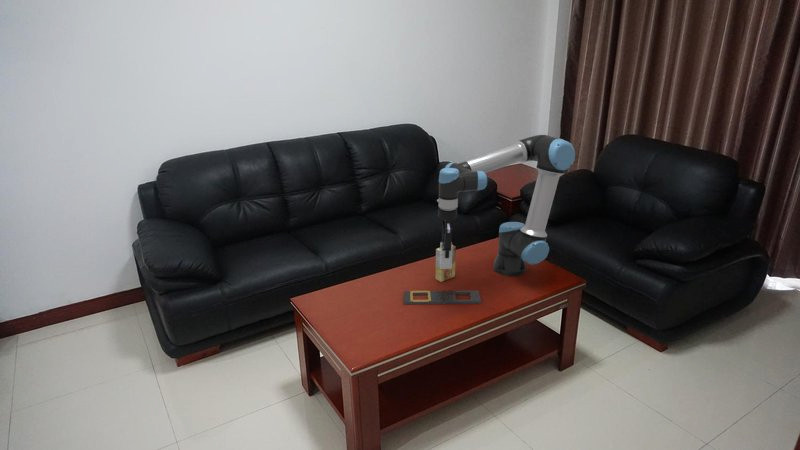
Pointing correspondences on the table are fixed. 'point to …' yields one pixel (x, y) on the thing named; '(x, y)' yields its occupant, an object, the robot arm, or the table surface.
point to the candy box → (445, 273)
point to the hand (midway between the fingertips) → (445, 261)
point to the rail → (442, 297)
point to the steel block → (442, 257)
